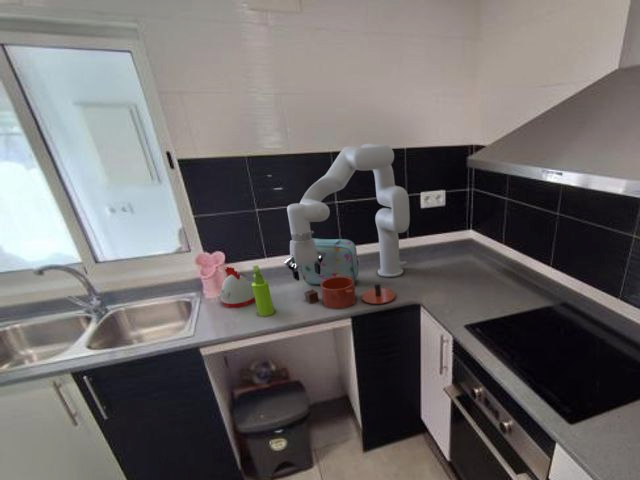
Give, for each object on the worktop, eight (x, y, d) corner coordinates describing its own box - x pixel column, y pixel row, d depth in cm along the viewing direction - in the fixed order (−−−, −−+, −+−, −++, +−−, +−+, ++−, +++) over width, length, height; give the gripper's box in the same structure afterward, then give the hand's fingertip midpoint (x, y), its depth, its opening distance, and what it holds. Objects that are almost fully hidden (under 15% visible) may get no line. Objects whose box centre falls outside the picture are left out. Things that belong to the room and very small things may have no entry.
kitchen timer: (243, 290, 173) (235, 259, 166) (263, 297, 167) (256, 265, 160) (215, 302, 162) (205, 270, 155) (236, 310, 156) (227, 276, 149)
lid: (381, 287, 174) (380, 274, 171) (402, 297, 165) (401, 283, 162) (354, 297, 165) (353, 283, 162) (375, 308, 156) (374, 294, 153)
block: (314, 297, 166) (312, 289, 164) (318, 300, 163) (317, 292, 161) (305, 300, 163) (304, 292, 161) (310, 303, 161) (309, 295, 159)
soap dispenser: (260, 318, 150) (248, 271, 140) (258, 311, 155) (246, 265, 146) (275, 315, 152) (265, 268, 143) (272, 308, 158) (262, 262, 148)
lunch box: (363, 279, 183) (359, 235, 173) (358, 287, 174) (353, 242, 164) (309, 277, 186) (302, 234, 175) (302, 286, 177) (294, 241, 166)
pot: (340, 289, 173) (338, 272, 169) (365, 303, 161) (364, 284, 156) (314, 299, 164) (311, 281, 160) (338, 314, 152) (336, 295, 148)
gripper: (316, 230, 157) (321, 268, 165) (276, 238, 147) (284, 279, 155) (325, 233, 153) (330, 273, 161) (285, 243, 142) (292, 285, 150)
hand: (307, 276), depth 158 cm, fingers open, 9 cm apart
